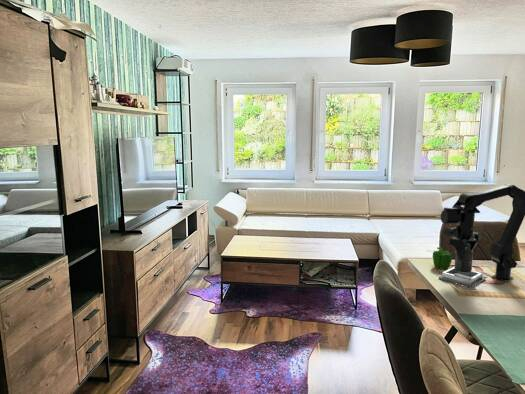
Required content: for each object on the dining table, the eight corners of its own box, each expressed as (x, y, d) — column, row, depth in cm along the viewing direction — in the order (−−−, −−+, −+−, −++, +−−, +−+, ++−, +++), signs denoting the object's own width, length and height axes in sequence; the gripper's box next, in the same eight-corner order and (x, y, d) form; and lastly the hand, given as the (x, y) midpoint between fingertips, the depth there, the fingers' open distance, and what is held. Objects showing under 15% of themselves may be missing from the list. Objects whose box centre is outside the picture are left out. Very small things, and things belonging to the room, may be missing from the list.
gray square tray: (453, 271, 185) (453, 265, 185) (485, 280, 175) (486, 273, 174) (438, 278, 176) (439, 272, 176) (471, 288, 166) (472, 281, 165)
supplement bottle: (473, 273, 171) (475, 246, 169) (456, 272, 172) (458, 245, 170) (469, 267, 178) (471, 241, 175) (452, 267, 179) (454, 241, 177)
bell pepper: (452, 266, 192) (453, 246, 190) (449, 272, 185) (451, 251, 183) (433, 263, 196) (434, 244, 194) (430, 268, 189) (431, 248, 188)
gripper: (457, 216, 183) (455, 249, 186) (437, 223, 171) (435, 258, 174) (483, 220, 175) (480, 255, 178) (464, 227, 163) (461, 264, 166)
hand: (463, 257), depth 174 cm, fingers closed on supplement bottle, 7 cm apart
